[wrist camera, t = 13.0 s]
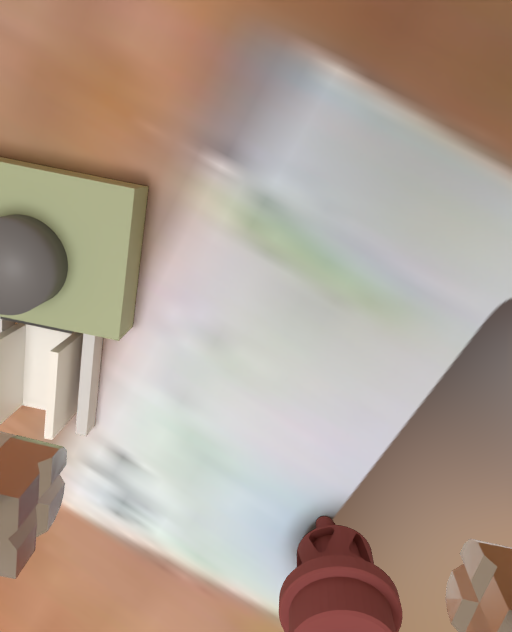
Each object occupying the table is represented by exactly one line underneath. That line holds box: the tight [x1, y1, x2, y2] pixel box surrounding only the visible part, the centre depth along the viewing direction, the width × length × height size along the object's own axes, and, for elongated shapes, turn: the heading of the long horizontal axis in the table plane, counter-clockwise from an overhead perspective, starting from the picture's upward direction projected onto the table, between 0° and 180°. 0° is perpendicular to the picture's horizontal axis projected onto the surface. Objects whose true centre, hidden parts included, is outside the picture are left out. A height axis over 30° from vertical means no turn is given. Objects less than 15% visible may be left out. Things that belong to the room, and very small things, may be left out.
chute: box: [0, 323, 83, 440], centre depth 42 cm, size 8×6×5 cm
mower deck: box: [0, 157, 149, 436], centre depth 39 cm, size 22×15×6 cm
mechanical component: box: [279, 516, 402, 632], centre depth 41 cm, size 12×10×10 cm
